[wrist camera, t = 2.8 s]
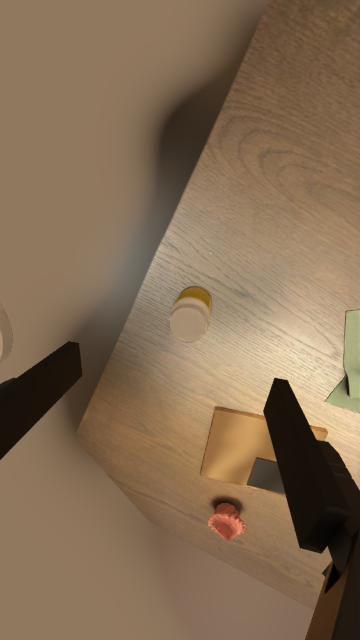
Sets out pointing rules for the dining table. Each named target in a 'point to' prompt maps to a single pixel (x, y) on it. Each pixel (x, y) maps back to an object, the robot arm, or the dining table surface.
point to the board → (244, 451)
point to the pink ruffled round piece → (226, 521)
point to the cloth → (349, 367)
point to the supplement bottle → (191, 314)
